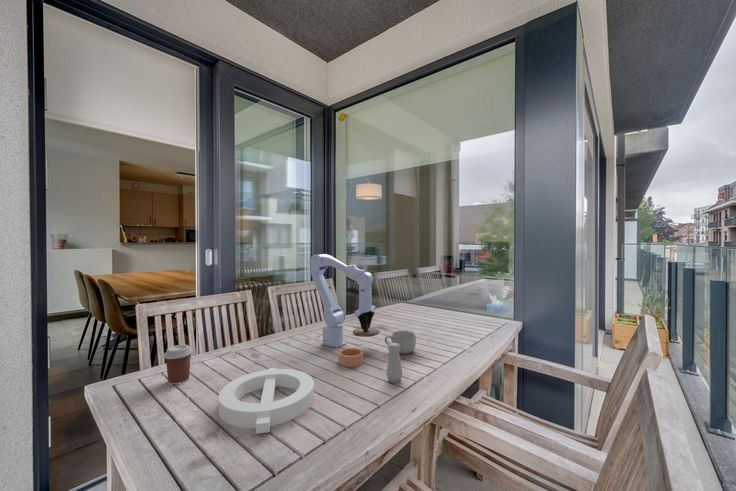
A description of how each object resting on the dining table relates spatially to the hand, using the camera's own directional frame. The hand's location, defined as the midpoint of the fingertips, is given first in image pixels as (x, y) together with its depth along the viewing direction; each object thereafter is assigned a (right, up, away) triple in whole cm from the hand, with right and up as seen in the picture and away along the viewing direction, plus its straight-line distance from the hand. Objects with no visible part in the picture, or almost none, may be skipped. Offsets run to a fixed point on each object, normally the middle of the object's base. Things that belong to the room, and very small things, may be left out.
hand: (365, 328), depth 144 cm
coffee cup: (-67, -11, -31) cm, 74 cm away
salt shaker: (+10, -10, -32) cm, 35 cm away
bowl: (-6, -10, -15) cm, 19 cm away
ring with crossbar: (-30, -11, -46) cm, 56 cm away
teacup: (+15, -10, -3) cm, 19 cm away
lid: (0, -2, 0) cm, 2 cm away
